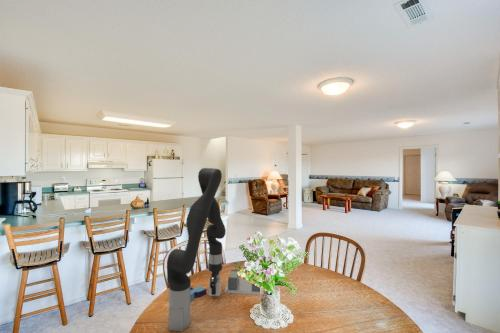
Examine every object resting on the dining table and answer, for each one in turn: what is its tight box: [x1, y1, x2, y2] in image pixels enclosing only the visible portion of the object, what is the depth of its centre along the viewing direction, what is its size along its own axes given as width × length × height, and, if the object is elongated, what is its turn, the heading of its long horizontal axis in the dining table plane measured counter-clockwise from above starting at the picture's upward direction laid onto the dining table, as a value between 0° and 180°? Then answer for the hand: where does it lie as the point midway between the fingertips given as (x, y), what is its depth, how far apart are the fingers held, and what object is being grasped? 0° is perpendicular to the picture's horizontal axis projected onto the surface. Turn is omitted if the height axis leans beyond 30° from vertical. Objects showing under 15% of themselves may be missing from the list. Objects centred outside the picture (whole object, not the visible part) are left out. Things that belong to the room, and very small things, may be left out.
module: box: [208, 277, 222, 297], centre depth 137 cm, size 4×6×8 cm, turn 85°
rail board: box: [224, 269, 261, 296], centre depth 144 cm, size 14×22×8 cm, turn 85°
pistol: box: [190, 285, 208, 303], centre depth 136 cm, size 4×16×15 cm
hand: (214, 291), depth 137 cm, fingers open, 6 cm apart
